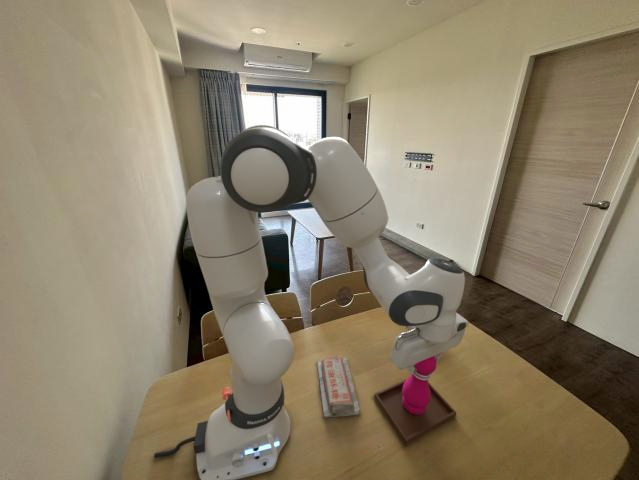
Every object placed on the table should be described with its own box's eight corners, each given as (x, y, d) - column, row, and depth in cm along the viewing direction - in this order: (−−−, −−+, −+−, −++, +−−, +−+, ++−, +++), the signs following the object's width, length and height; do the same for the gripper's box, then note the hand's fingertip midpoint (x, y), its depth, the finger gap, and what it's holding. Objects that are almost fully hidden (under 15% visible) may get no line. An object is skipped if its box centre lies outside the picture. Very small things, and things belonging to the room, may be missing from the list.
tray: (405, 445, 62) (406, 441, 61) (373, 398, 73) (374, 393, 72) (455, 417, 68) (456, 412, 67) (419, 377, 79) (420, 373, 78)
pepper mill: (423, 392, 73) (436, 339, 65) (431, 418, 66) (446, 362, 59) (398, 390, 73) (408, 337, 66) (403, 415, 67) (415, 359, 59)
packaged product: (361, 403, 66) (324, 407, 65) (360, 415, 68) (324, 419, 67) (347, 350, 83) (317, 352, 82) (346, 361, 85) (317, 363, 84)
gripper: (407, 346, 53) (398, 391, 58) (473, 320, 60) (460, 363, 66) (388, 326, 58) (381, 370, 63) (451, 305, 66) (441, 345, 71)
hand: (422, 366), depth 64 cm, fingers closed on pepper mill, 6 cm apart
